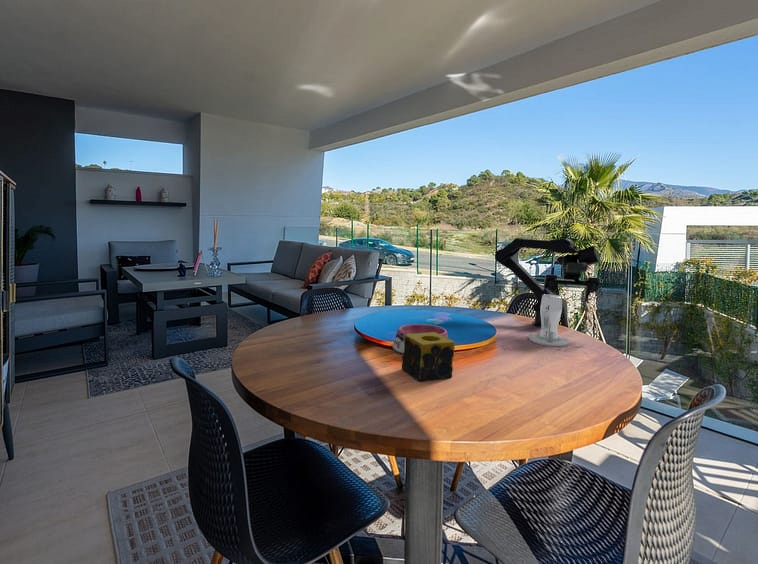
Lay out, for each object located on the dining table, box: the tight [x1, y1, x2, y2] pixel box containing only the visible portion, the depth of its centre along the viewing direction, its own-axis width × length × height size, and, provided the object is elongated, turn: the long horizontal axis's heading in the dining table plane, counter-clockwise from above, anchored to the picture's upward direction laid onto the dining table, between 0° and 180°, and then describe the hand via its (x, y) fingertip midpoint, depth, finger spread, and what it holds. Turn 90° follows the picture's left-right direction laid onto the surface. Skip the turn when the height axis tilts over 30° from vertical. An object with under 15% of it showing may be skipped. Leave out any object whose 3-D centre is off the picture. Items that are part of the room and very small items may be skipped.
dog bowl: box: [391, 323, 450, 356], centre depth 132 cm, size 18×19×7 cm
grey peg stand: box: [528, 331, 569, 348], centre depth 148 cm, size 13×13×5 cm
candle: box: [401, 332, 456, 383], centre depth 110 cm, size 10×10×10 cm
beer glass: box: [539, 294, 563, 340], centre depth 147 cm, size 7×7×15 cm
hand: (572, 301), depth 153 cm, fingers open, 9 cm apart
